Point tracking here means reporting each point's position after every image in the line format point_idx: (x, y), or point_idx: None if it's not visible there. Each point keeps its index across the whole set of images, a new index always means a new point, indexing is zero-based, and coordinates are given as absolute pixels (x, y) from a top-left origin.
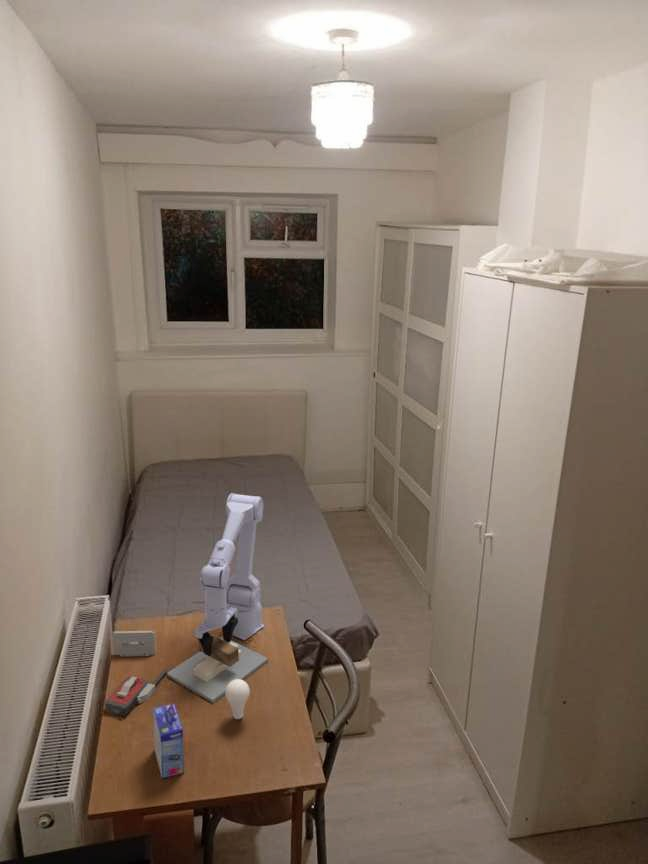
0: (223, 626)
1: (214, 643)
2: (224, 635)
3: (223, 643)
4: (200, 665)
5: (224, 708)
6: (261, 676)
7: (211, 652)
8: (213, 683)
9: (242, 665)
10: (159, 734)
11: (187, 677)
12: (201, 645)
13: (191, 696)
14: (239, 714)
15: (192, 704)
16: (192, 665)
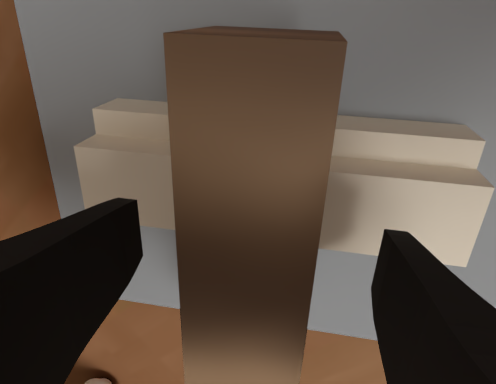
0: (442, 366)
1: (218, 257)
2: (395, 279)
3: (271, 327)
4: (100, 172)
5: (102, 327)
6: (347, 359)
7: (126, 283)
8: (148, 235)
9: (355, 280)
10: None
11: (77, 81)
12: (35, 230)
13: (41, 180)
14: None
15: (19, 216)
16: (172, 13)
